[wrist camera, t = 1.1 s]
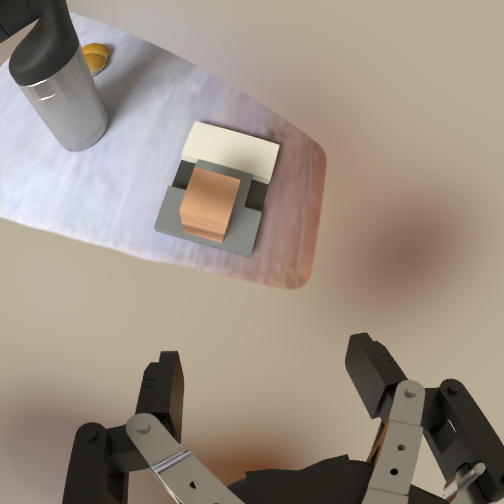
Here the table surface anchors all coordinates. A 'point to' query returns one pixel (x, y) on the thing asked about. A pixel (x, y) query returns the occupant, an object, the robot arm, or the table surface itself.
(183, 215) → the block
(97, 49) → the bread roll
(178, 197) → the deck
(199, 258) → the table surface
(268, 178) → the pad
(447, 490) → the robot arm
